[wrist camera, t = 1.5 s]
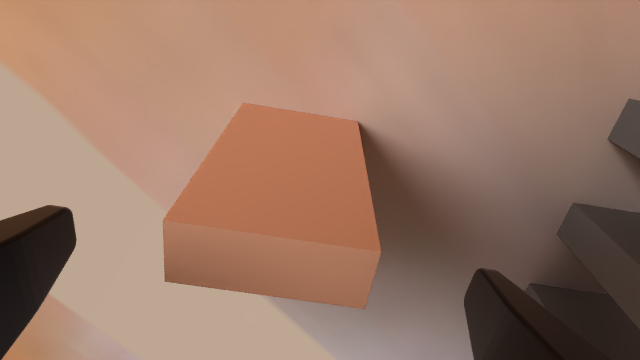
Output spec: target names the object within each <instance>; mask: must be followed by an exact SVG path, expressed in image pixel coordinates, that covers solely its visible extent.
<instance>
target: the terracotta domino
mask: <svg viewBox="0 0 640 360" xmlns="http://www.w3.org/2000/svg"><path fill="white" fill-rule="evenodd" d="M163 236H164V267H165V268H164V269H165V282H172V283H179V284H187V285H194V286H201V287H208V288H216V289H223V290H230V291H238V292H245V293H252V294H259V295H267V296H274V297H281V298H289V299H296V300H303V301H310V302H318V303H325V304H332V305H340V306H347V307H354V308H361V309H365V307H366V303H367V300H368V296H369V293H370V289H371V286H372V283H373V279H374V276H375V272H376V269H377V265H378V262H379V258H380V255H381V247H380V242H379V236H378V231H377V225H376V220H375V214H374V209H373V203H372V197H371V192H370V186H369V181H368V175H367V170H366V164H365V159H364V153H363V148H362V142H361V137H360V131H359V126H358V122H357V121H351V120H345V119H339V118H333V117H327V116H320V115H314V114H308V113H302V112H296V111H290V110H283V109H277V108H271V107H265V106H259V105H252V104H246V103H243V104H242V106H241V107H240V108H239V110H238V111H237V113H236V114H235V116H234V117H233V119H232V120H231V122H230V123H229V125H228V126H227V127H226V129H225V130H224V132H223V133H222V135H221V136H220V138H219V139H218V141H217V142H216V144H215V145H214V146H213V148H212V149H211V151H210V152H209V154H208V155H207V157H206V158H205V160H204V161H203V163H202V164H201V165H200V167H199V168H198V170H197V171H196V173H195V174H194V176H193V177H192V179H191V180H190V182H189V183H188V184H187V186H186V187H185V189H184V190H183V192H182V193H181V195H180V196H179V198H178V199H177V201H176V202H175V203H174V205H173V206H172V208H171V209H170V211H169V212H168V214H167V215H166V217H165V218H164V220H163Z"/></svg>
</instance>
